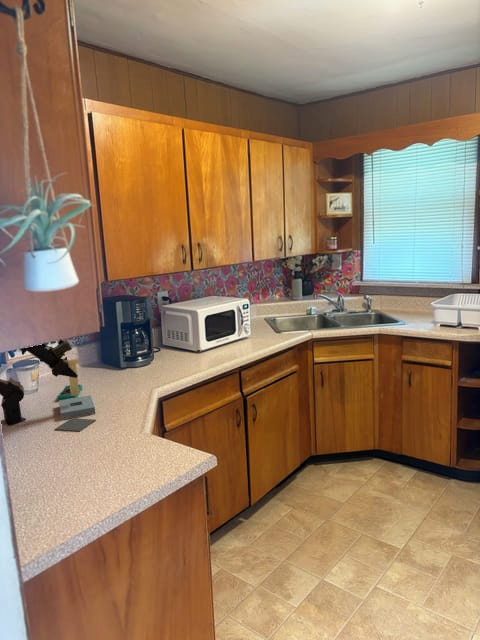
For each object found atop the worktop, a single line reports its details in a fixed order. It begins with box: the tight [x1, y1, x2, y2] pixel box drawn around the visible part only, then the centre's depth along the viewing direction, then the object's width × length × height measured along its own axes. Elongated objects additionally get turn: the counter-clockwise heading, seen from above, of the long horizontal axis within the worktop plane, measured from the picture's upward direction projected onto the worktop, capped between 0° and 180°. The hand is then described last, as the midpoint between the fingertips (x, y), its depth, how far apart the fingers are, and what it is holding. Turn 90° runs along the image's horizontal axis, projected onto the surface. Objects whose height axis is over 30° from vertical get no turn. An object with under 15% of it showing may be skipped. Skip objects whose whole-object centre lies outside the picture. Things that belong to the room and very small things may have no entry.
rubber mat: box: [54, 417, 97, 433], centre depth 169 cm, size 10×10×1 cm
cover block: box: [58, 394, 96, 421], centre depth 185 cm, size 12×16×2 cm
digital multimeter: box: [57, 384, 83, 402], centre depth 204 cm, size 7×15×3 cm, turn 7°
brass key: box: [66, 358, 81, 396], centre depth 183 cm, size 5×3×14 cm, turn 113°
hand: (76, 375), depth 183 cm, fingers closed on brass key, 3 cm apart
